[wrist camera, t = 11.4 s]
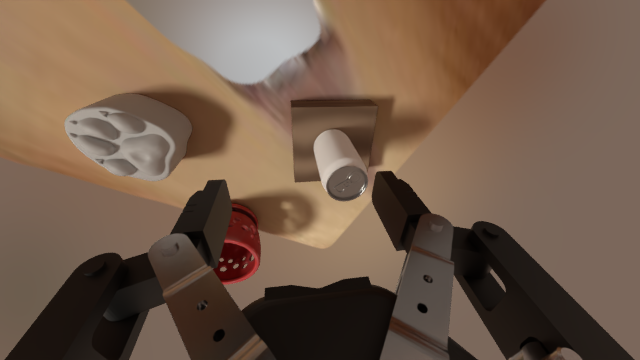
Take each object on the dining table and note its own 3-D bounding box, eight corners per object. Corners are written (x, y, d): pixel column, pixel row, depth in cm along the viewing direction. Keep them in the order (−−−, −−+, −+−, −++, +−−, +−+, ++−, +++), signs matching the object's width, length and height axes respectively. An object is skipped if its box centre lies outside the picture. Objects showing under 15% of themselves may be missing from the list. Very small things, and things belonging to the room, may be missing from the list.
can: (356, 146, 41) (380, 184, 31) (328, 168, 42) (342, 211, 33) (334, 120, 37) (353, 153, 28) (305, 145, 39) (312, 184, 29)
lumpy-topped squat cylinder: (182, 165, 43) (162, 193, 36) (97, 137, 38) (54, 162, 31) (196, 116, 38) (176, 136, 31) (101, 77, 33) (52, 90, 26)
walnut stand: (290, 100, 39) (291, 107, 35) (370, 99, 40) (378, 106, 37) (294, 171, 46) (294, 182, 43) (360, 168, 48) (366, 178, 45)
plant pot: (229, 247, 56) (218, 294, 46) (188, 213, 49) (164, 260, 39) (275, 225, 54) (273, 269, 44) (239, 186, 47) (227, 229, 37)
